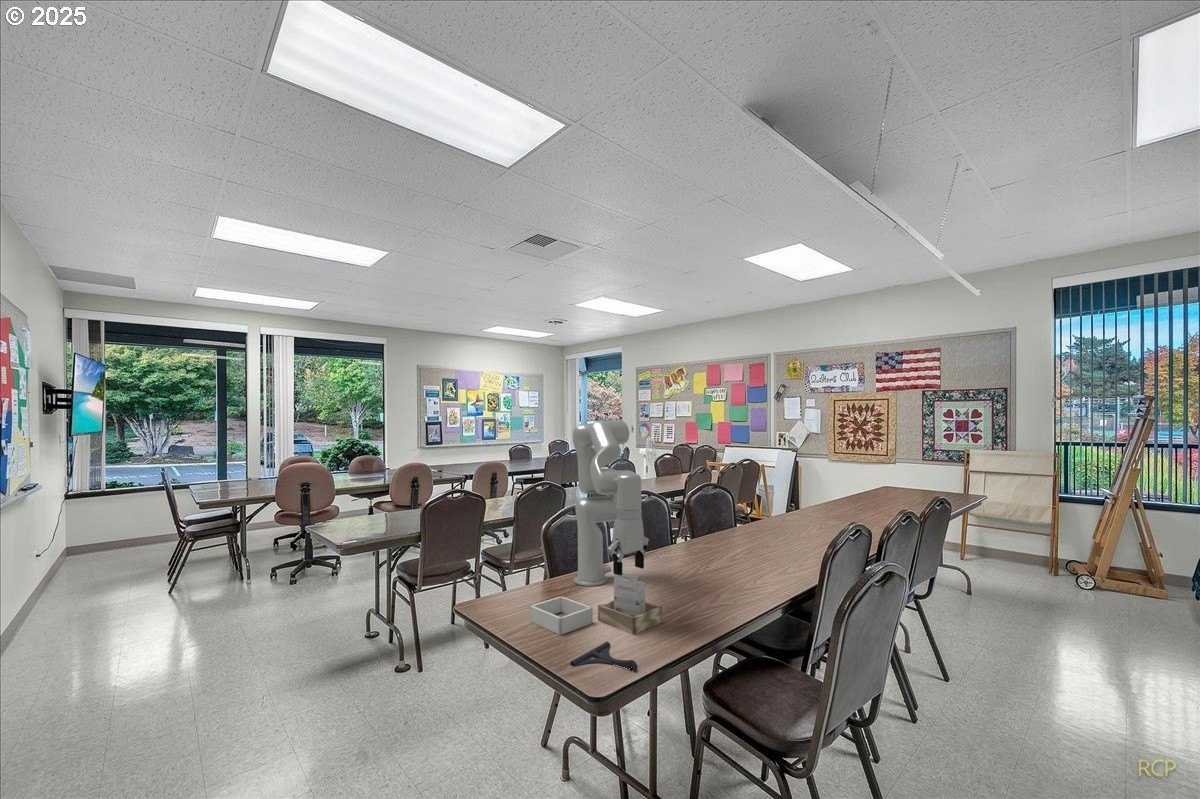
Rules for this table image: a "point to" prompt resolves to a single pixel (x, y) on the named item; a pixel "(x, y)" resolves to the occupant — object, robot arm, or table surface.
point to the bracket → (602, 658)
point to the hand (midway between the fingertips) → (628, 570)
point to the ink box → (629, 595)
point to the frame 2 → (630, 617)
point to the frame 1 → (560, 625)
